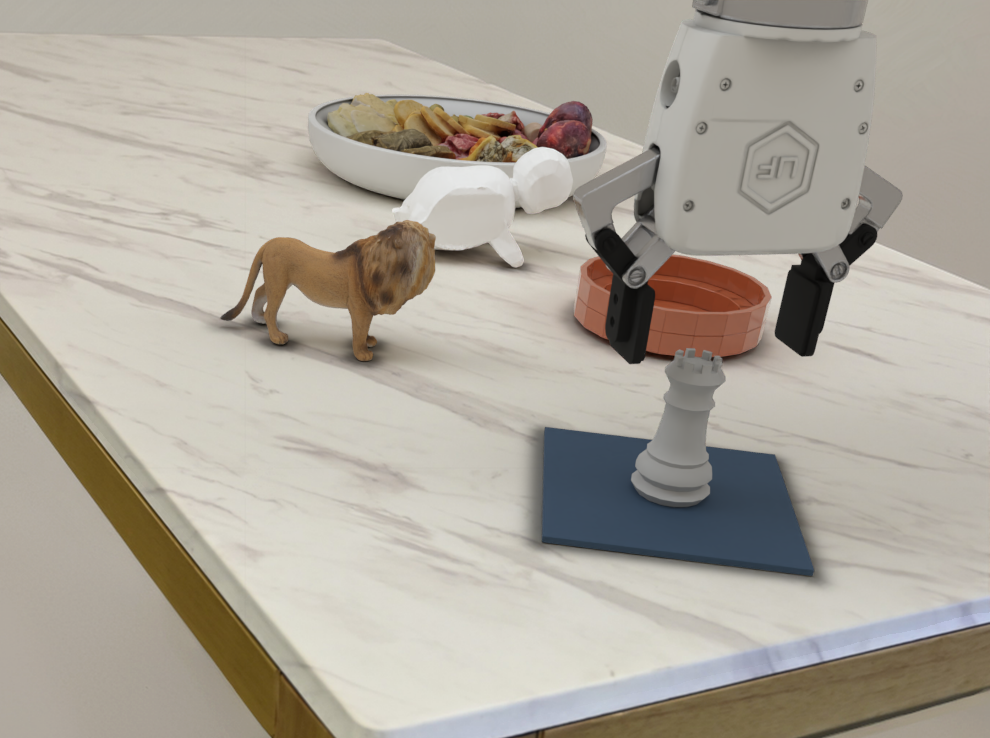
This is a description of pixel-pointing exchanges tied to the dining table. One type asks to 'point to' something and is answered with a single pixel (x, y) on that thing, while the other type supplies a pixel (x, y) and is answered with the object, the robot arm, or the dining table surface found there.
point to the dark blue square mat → (663, 529)
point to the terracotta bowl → (685, 306)
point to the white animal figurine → (486, 201)
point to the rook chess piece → (681, 434)
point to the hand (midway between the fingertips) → (710, 350)
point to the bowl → (444, 138)
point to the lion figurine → (343, 278)
